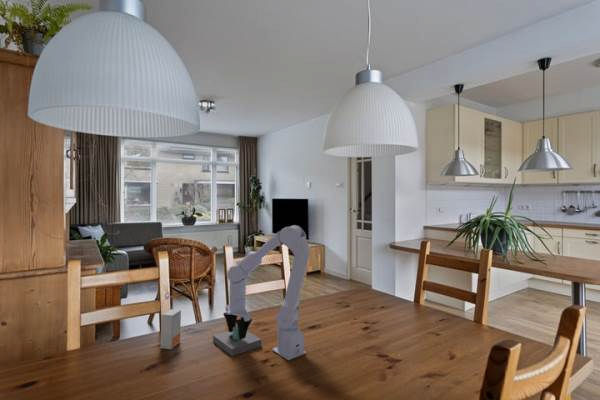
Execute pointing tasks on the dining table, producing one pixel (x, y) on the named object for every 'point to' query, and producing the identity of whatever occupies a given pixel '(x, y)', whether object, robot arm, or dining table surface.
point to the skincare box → (170, 328)
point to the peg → (235, 333)
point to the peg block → (236, 342)
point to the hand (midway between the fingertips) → (237, 334)
